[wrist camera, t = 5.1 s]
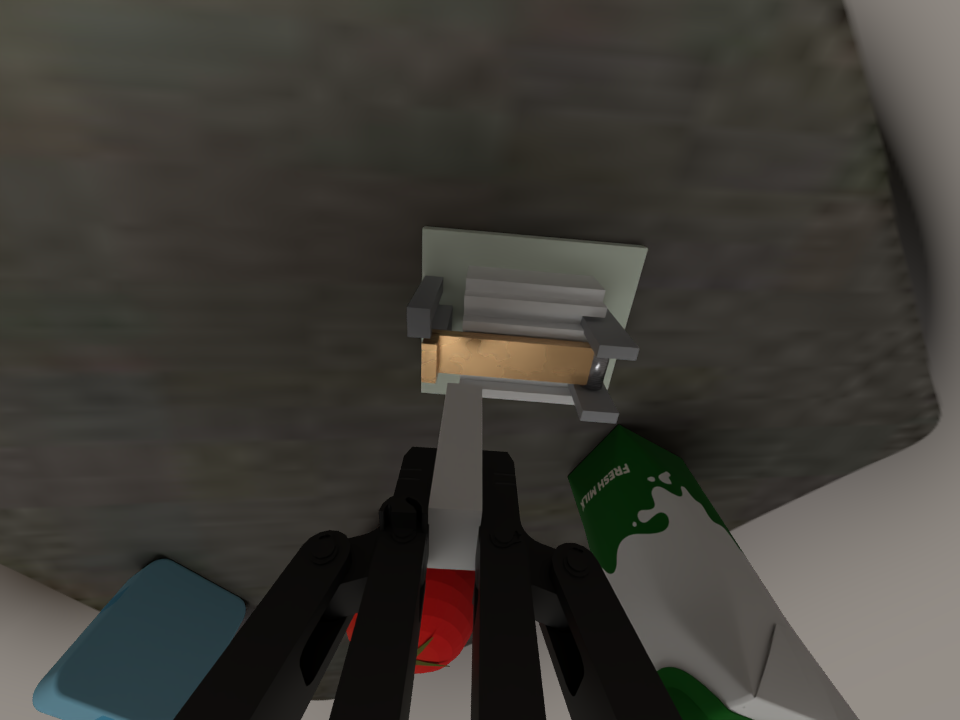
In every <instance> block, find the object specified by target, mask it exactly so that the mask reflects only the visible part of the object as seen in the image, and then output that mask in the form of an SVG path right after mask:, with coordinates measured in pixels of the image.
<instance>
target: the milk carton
mask: <svg viewBox="0 0 960 720" xmlns="http://www.w3.org/2000/svg"><path fill="white" fill-rule="evenodd" d="M568 479H569V482H570V486H571V489H572V492H573V495H574V498H575V501H576V504H577V507H578V510H579V513H580V516H581V519H582V522H583V526H584V529H585V532H586V536H587V540H588V544H589V548H590V551H591V552H592V553H593V555H594V556H595V557H596V559H597V560H598V562H599V564H600V566H601V567H602V569H603V571H604V573H605V575H606V577H607V579H608V581H609V582H610V584H611V586H612V588H613V590H614V592H615V594H616V596H617V598H618V599H619V601H620V603H621V605H622V607H623V609H624V611H625V613H626V614H627V616H628V618H629V620H630V622H631V624H632V626H633V628H634V629H635V631H636V633H637V635H638V637H639V639H640V641H641V643H642V644H643V646H644V648H645V650H646V652H647V654H648V656H649V658H650V659H651V661H652V663H653V665H654V667H655V669H656V671H657V673H658V674H659V676H660V678H661V680H662V682H663V684H664V686H665V688H666V690H667V691H668V693H669V695H670V697H671V699H672V701H673V703H674V705H675V706H676V708H677V710H678V712H679V714H680V716H681V718H682V720H859V719H858V717H857V716H856V715H855V713H854V712H853V711H852V709H851V708H850V707H849V705H848V704H847V703H846V701H845V700H844V698H843V697H842V696H841V694H840V693H839V692H838V690H837V689H836V688H835V686H834V685H833V683H832V682H831V681H830V679H829V678H828V677H827V675H826V674H825V672H824V671H823V670H822V668H821V667H820V666H819V664H818V663H817V662H816V660H815V659H814V658H813V656H812V655H811V654H810V652H809V651H808V650H807V648H806V647H805V645H804V644H803V642H802V641H801V640H800V638H799V637H798V635H797V634H796V633H795V631H794V630H793V628H792V627H791V626H790V624H789V623H788V621H787V620H786V618H785V617H784V615H783V614H782V612H781V611H780V609H779V607H778V606H777V604H776V603H775V601H774V600H773V598H772V597H771V595H770V593H769V592H768V590H767V589H766V587H765V586H764V584H763V583H762V581H761V579H760V578H759V576H758V575H757V573H756V572H755V570H754V569H753V567H752V566H751V564H750V563H749V561H748V560H747V558H746V556H745V555H744V553H743V552H742V550H741V549H740V547H739V546H738V544H737V543H736V541H735V539H734V538H733V537H732V535H731V533H730V532H729V530H728V529H727V527H726V526H725V524H724V523H723V521H722V519H721V518H720V516H719V515H718V513H717V512H716V510H715V509H714V507H713V506H712V504H711V503H710V501H709V500H708V498H707V497H706V495H705V494H704V492H703V491H702V489H701V487H700V486H699V484H698V483H697V481H696V480H695V478H694V477H693V475H692V474H691V472H690V471H689V469H688V468H687V466H686V464H685V463H684V461H683V460H682V458H680V457H678V456H676V455H674V454H672V453H670V452H669V451H667V450H665V449H663V448H661V447H659V446H658V445H656V444H654V443H652V442H650V441H648V440H647V439H645V438H643V437H641V436H639V435H637V434H635V433H634V432H632V431H630V430H628V429H626V428H624V427H623V426H621V425H619V424H618V425H617V427H616V428H615V429H614V430H613V431H612V432H611V433H610V434H609V435H608V436H607V437H606V438H605V439H604V440H603V441H602V442H601V443H600V444H599V445H598V446H597V447H596V448H595V449H594V450H593V451H592V452H591V453H590V454H589V455H588V456H587V457H586V458H585V459H584V460H583V461H582V462H581V463H580V464H579V465H578V466H577V468H576V469H575V470H574V471H573V472H572V473H571V474H570V475H569V476H568Z"/></svg>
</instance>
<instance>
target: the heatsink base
mask: <svg viewBox="0 0 960 720" xmlns="http://www.w3.org/2000/svg"><path fill="white" fill-rule="evenodd" d="M647 250H648V248H646V247H645V246H643V245H634V244H622V243H611V242H599V241H588V240H577V239H565V238H554V237H543V236H531V235H520V234H509V233H497V232H486V231H475V230H463V229H452V228H441V227H429V226H425V227H423V228H422V282H421V283H420V285H419V287H418V289H417V290H416V292H415V294H414V296H413V297H412V299H411V301H410V302H409V304H408V306H407V332H408V337H416V338H422V341H423V339H424V338H428V339H430V338H431V335H432V329H437V330H449V331H461V332H472V333H484V334H496V335H508V336H520V337H532V338H543V339H555V340H567V341H579V342H589V344H590V346H591V348H592V350H593V352H594V353H595V355H596V357H598V358H610V359H609V363H608V367H607V370H606V374H605V377H604V381H603V385H602V388H601V389H600V390H589V389H587V388H585V387H584V386H582V385H580V384H568V383H556V382H543V381H531V380H519V379H507V378H495V377H483V376H471V375H459V374H447V373H438V376H437V380H436V383H423V382H421V392H422V393H434V394H446V389H447V383H459V384H473V385H482V397H483V398H495V399H508V400H520V401H533V402H545V403H557V404H570V405H575V407H576V410H577V413H578V416H579V418H580V421H590V422H602V423H615V424H616V422H617V418H618V415H619V412H618V410H617V408H616V406H615V405H614V403H613V401H612V399H611V397H610V395H609V393H608V391H607V390H608V386H609V383H610V379H611V376H612V372H613V369H614V365H615V362H616V359H622V360H634V361H636V358H637V355H638V352H639V349H640V348H639V347H638V346H637V344H636V343H635V342H634V341H633V339H632V338H631V337H630V336H629V334H628V333H627V332H626V331H625V327H626V324H627V320H628V317H629V313H630V310H631V306H632V303H633V299H634V296H635V292H636V289H637V285H638V282H639V278H640V275H641V271H642V268H643V264H644V261H645V257H646V254H647ZM421 366H422V359H421Z"/></svg>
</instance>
